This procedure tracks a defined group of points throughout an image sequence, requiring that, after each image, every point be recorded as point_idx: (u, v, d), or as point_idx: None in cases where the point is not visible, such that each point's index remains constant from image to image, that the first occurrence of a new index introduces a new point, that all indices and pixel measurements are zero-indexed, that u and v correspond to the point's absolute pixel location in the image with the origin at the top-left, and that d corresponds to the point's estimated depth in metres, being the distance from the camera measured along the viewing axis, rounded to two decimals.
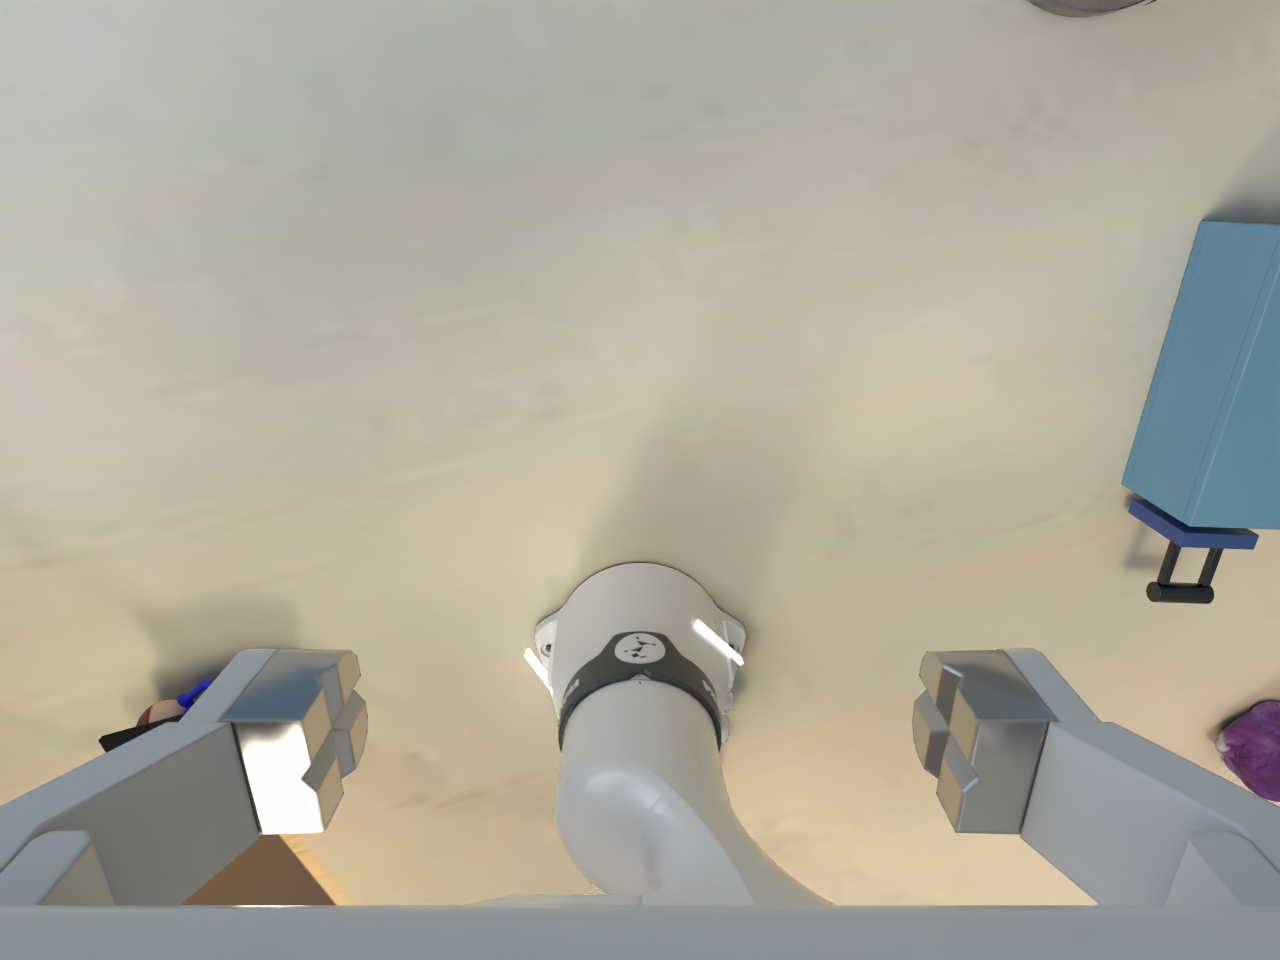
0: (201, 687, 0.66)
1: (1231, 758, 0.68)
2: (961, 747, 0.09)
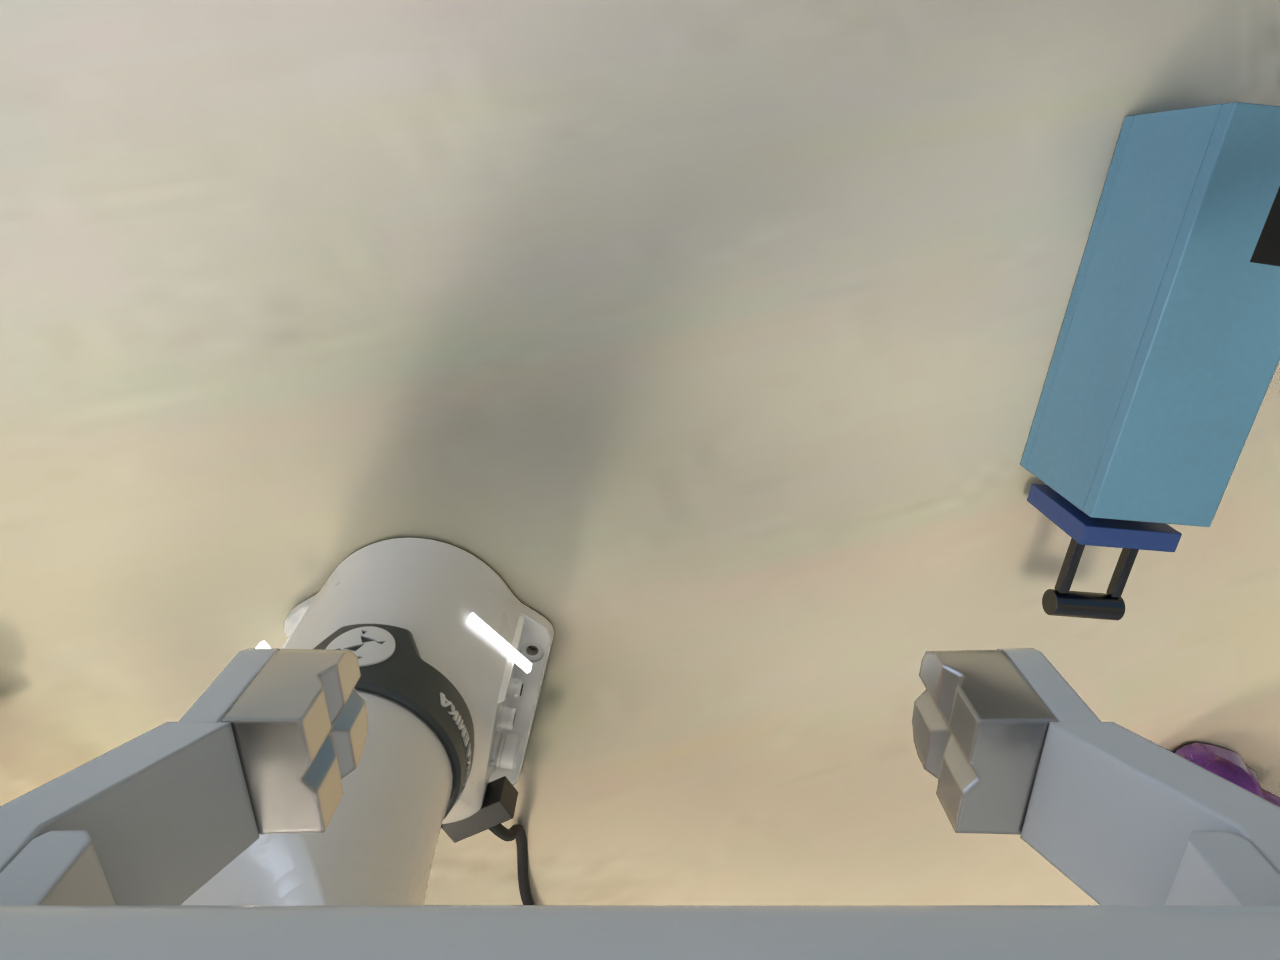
0: None
1: None
2: (961, 747, 0.09)
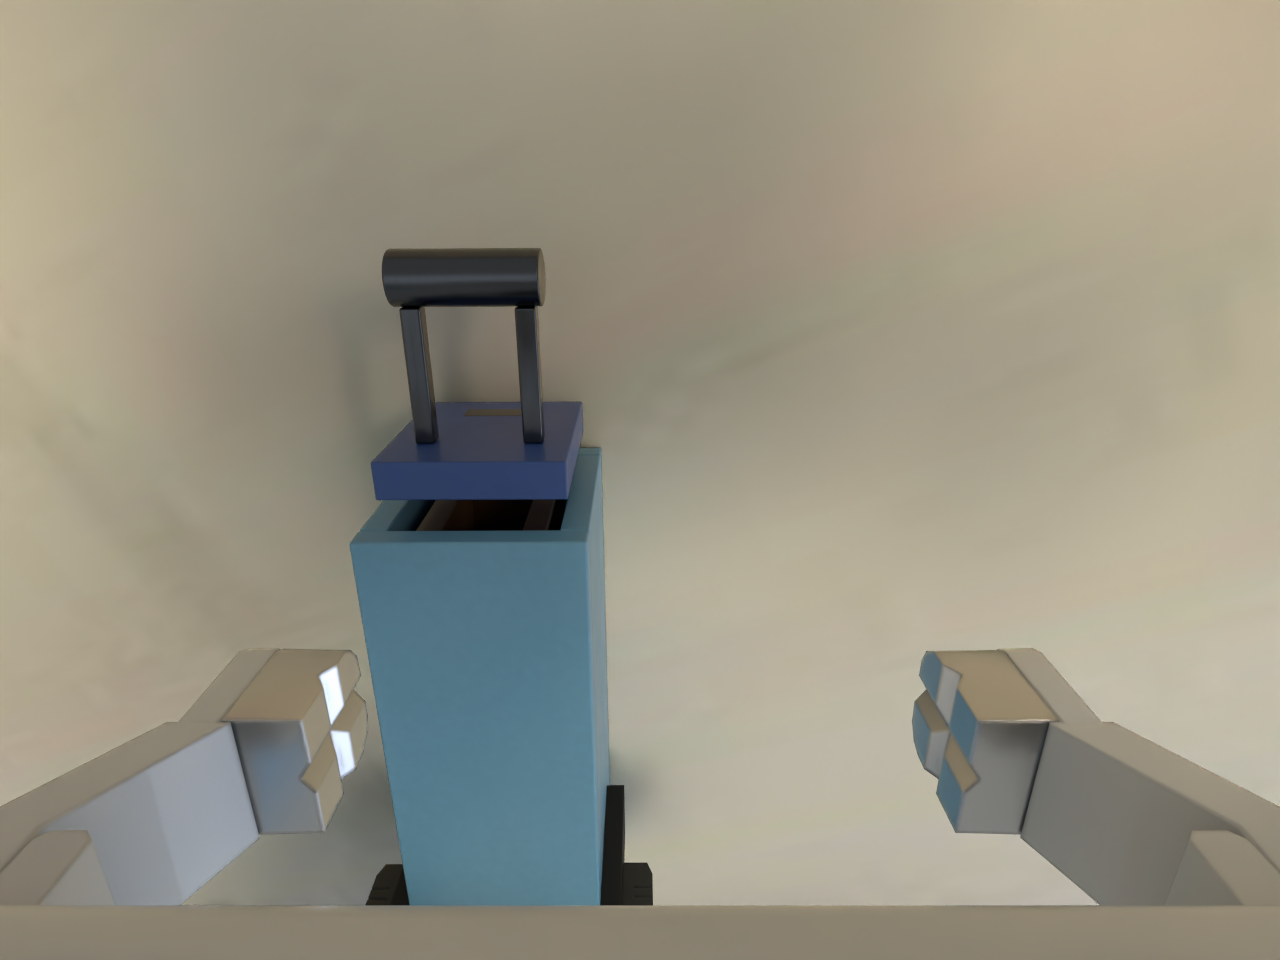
0: None
1: None
2: (961, 747, 0.09)
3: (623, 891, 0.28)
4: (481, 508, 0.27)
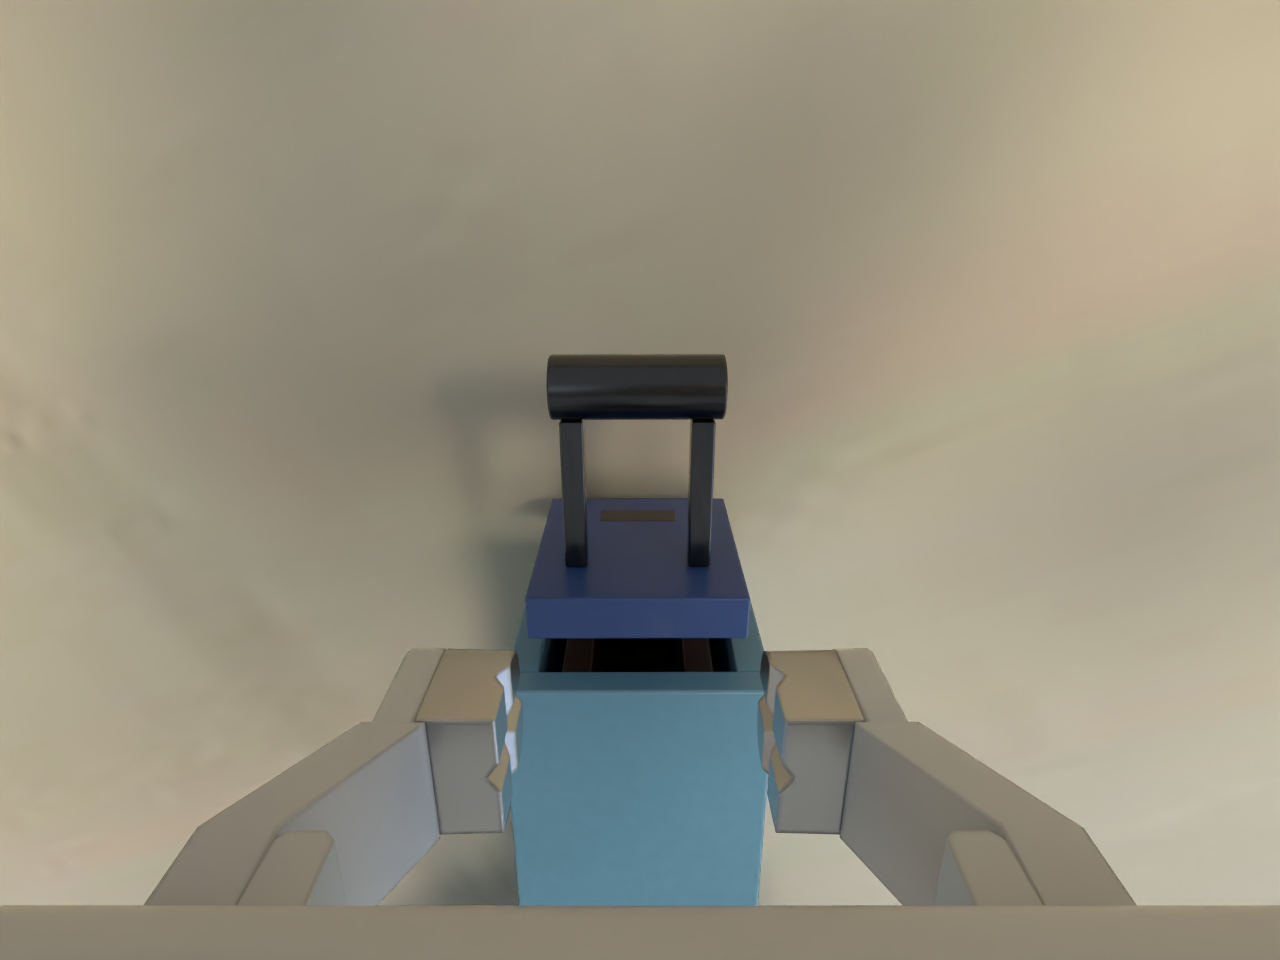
0: None
1: None
2: (777, 747, 0.09)
3: None
4: None
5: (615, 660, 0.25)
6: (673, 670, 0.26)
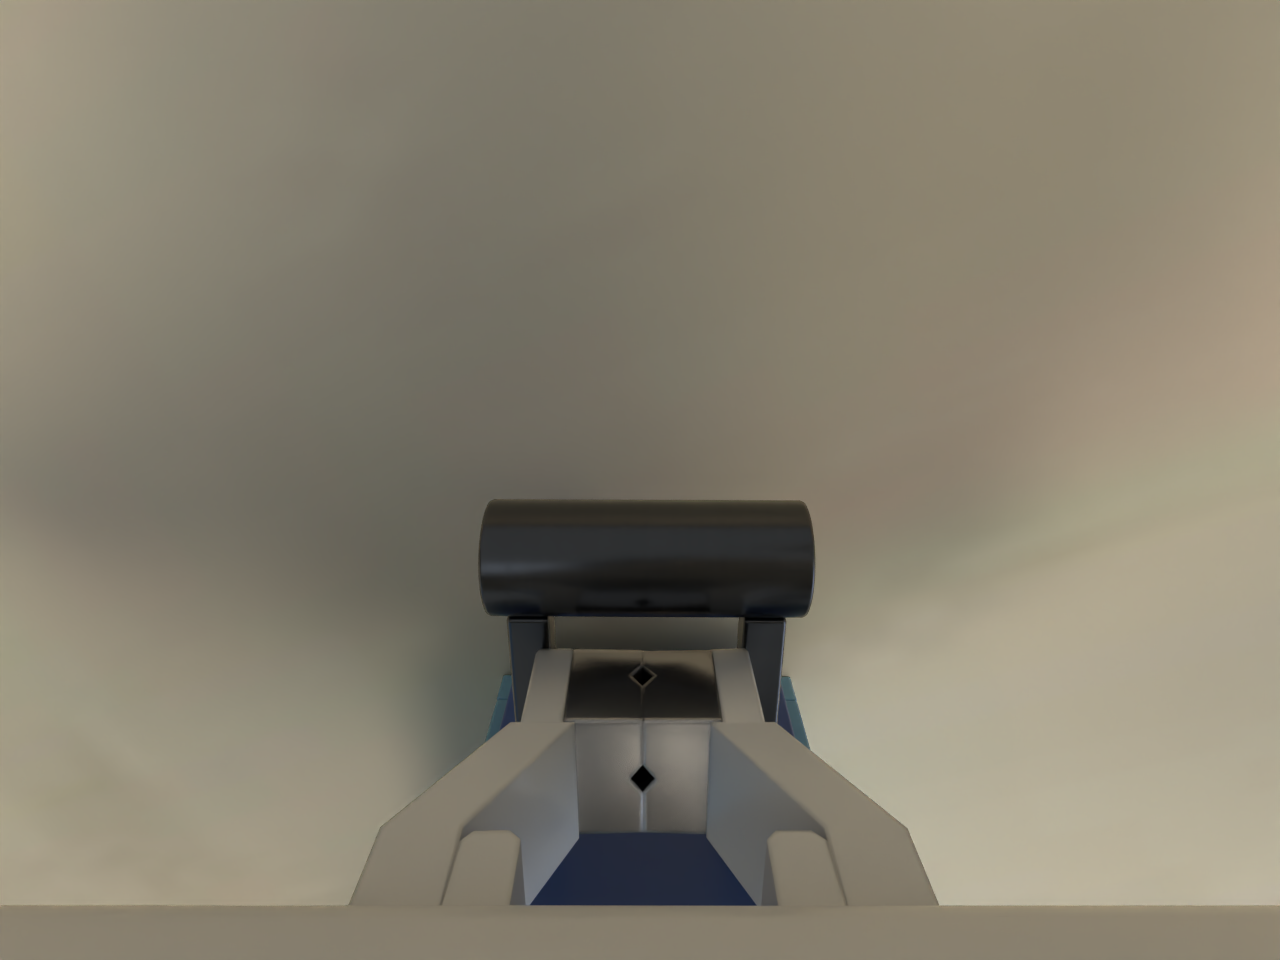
0: None
1: None
2: None
3: None
4: None
5: None
6: None
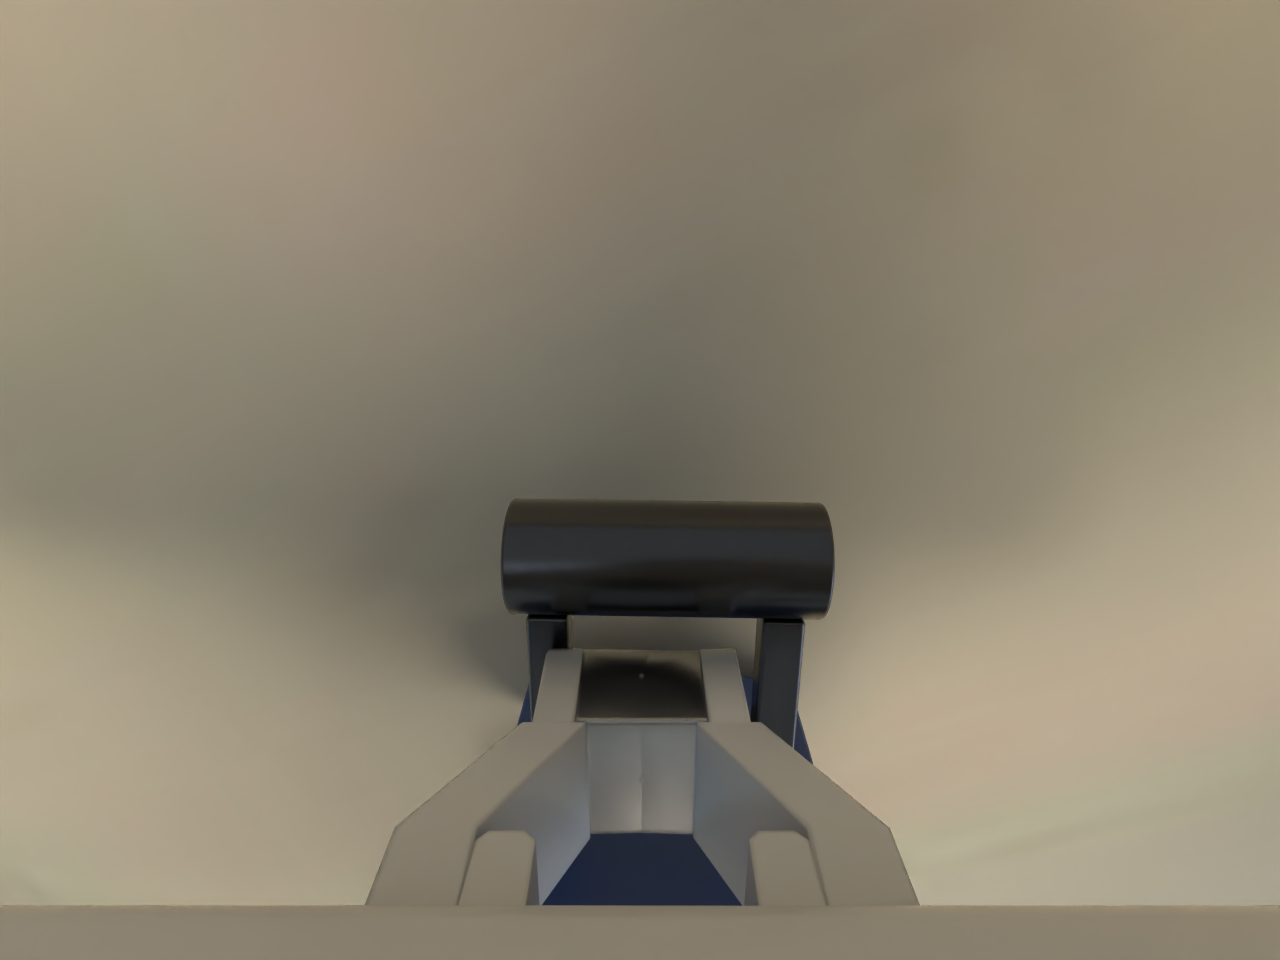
0: None
1: None
2: None
3: None
4: None
5: None
6: None
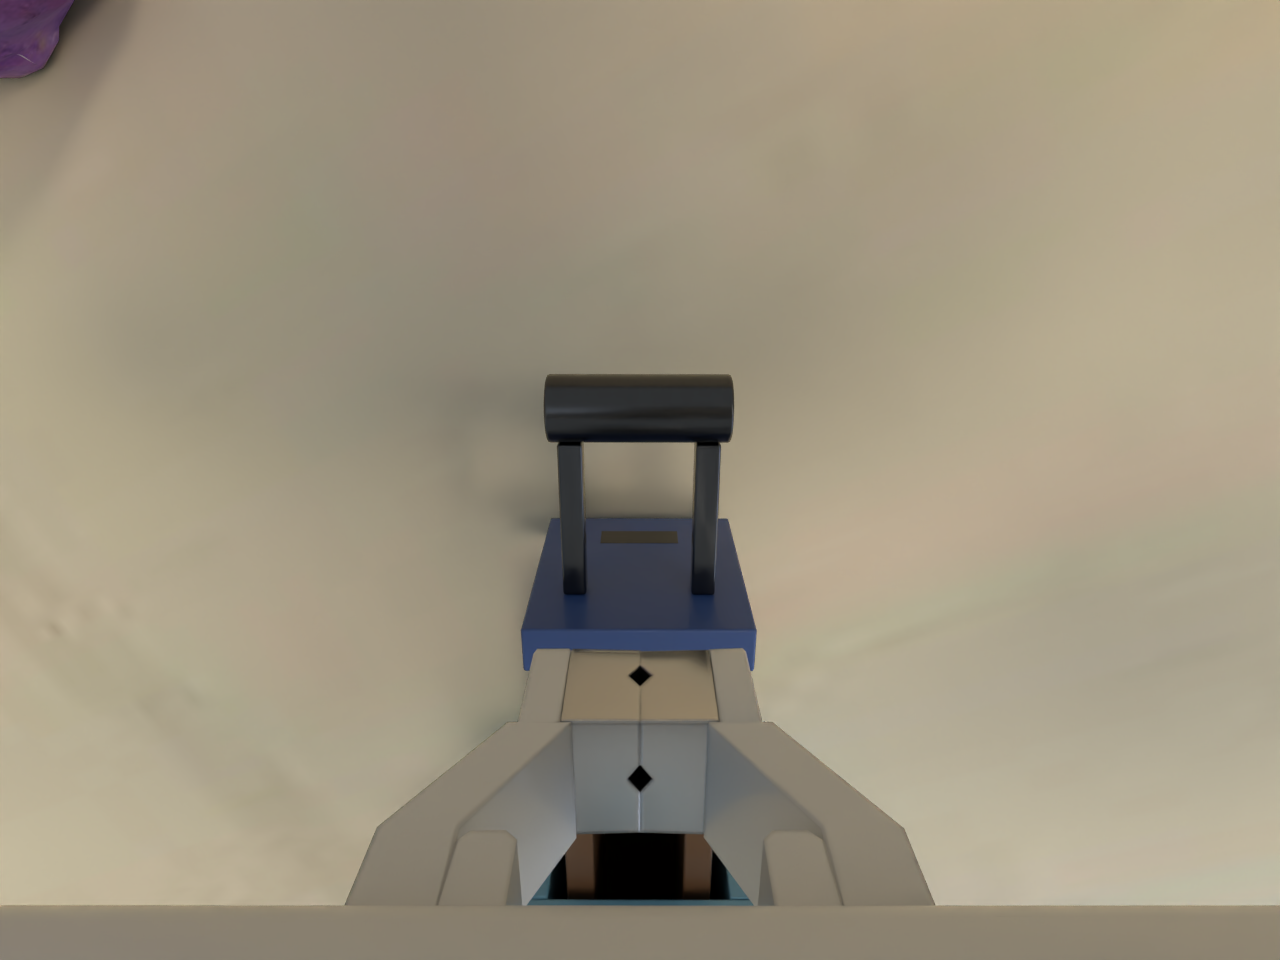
0: None
1: None
2: None
3: None
4: None
5: None
6: None
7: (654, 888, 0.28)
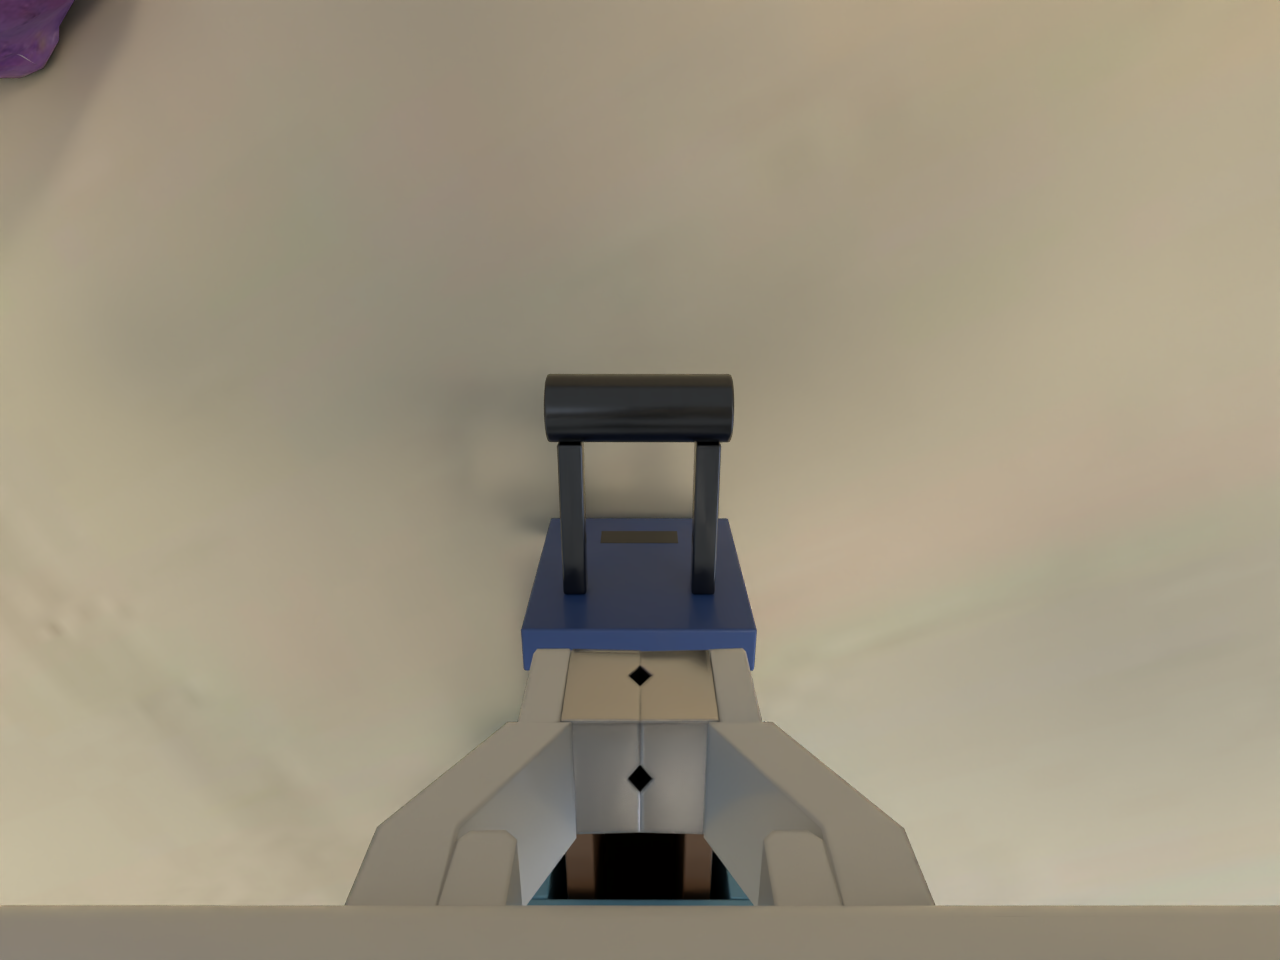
0: None
1: None
2: None
3: None
4: None
5: None
6: None
7: (654, 888, 0.28)
